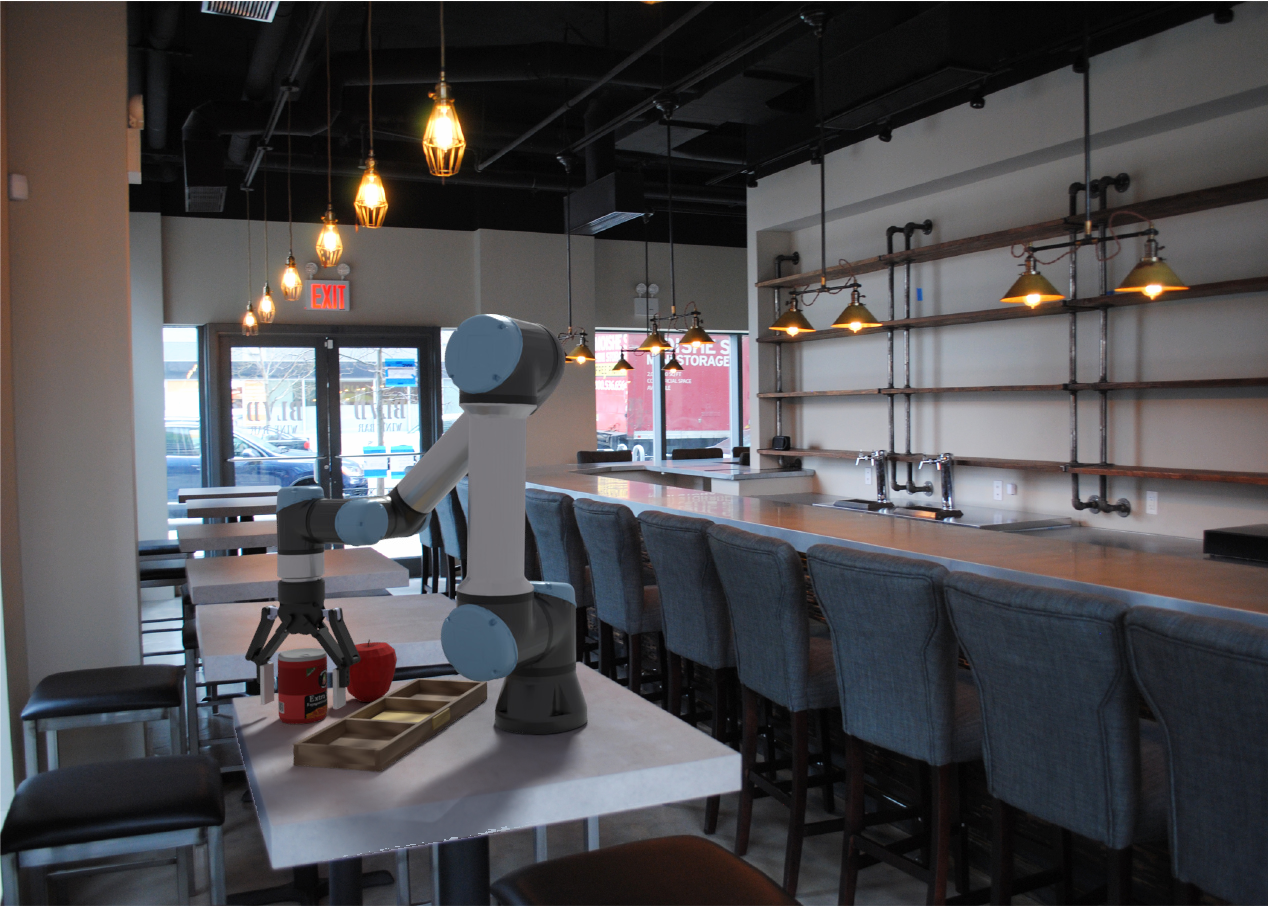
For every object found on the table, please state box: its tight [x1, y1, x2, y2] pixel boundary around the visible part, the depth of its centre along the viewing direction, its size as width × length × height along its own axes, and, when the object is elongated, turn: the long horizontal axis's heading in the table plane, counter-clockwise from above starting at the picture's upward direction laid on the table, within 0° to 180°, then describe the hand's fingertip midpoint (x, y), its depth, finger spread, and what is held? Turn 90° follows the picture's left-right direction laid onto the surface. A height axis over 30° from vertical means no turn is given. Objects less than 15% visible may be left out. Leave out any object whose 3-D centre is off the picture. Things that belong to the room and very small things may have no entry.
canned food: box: [277, 647, 329, 725], centre depth 161 cm, size 8×8×11 cm
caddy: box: [292, 677, 488, 773], centre depth 154 cm, size 14×39×3 cm, turn 167°
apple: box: [346, 639, 398, 703], centre depth 172 cm, size 10×10×11 cm
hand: (303, 705), depth 161 cm, fingers open, 13 cm apart
